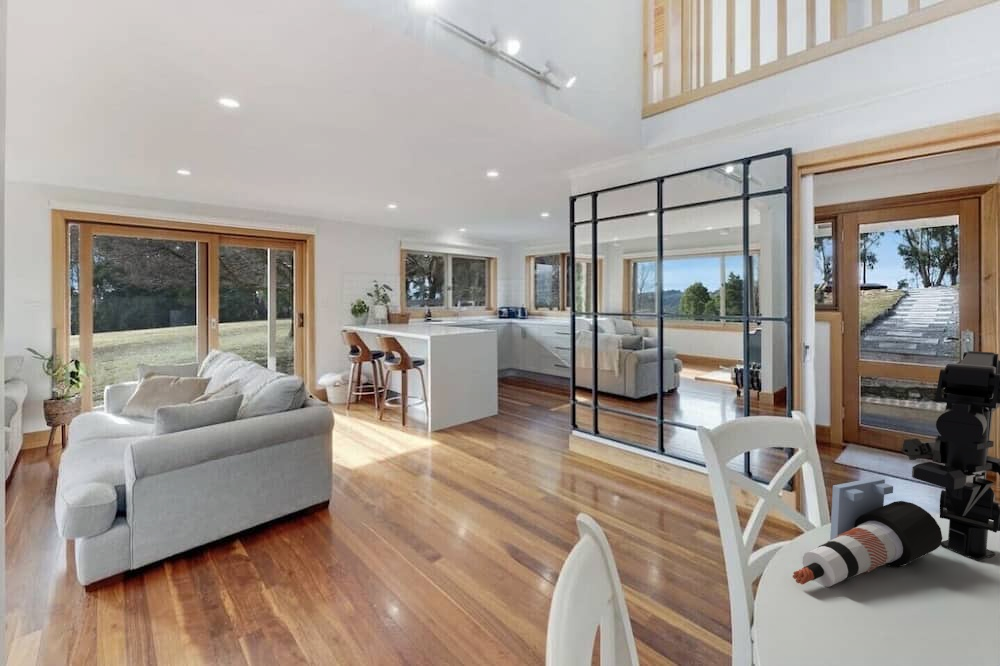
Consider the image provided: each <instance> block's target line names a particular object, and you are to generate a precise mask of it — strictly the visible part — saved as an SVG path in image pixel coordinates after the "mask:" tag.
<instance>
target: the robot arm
mask: <svg viewBox="0 0 1000 666" xmlns="http://www.w3.org/2000/svg"><path fill="white" fill-rule="evenodd" d="M999 355H1000V354H999V353H995V352H992V351H991V352H989V351H974V350H969V351H964V352H963V355H962V359H961V360H960V361H958V362H957V363H947V364H946V365H945V368H944V369H943V368H941V369H940V370H939V374H938V375H939V376H938V381H937V387H936V392H935V398H934V399H935V400H934V401H935V402H936V403H937V402H938V403H945V404H946V405H945V409H944V411H943V412H942V413H941V414H940V415H939V416H938V418H937V419H936V421H935V422H936V423H935V427H936V428H935V429H936V430H937V432H938V435H936V436H935V440H923V441H921V440H920V439H919V438H918V437H917V438H906V439H903V442H902V444H901V445H902V446H901V447H902V448H901V449H900V451H901V453H904V455H906V456H908V460H909V461H916V460H924V459H925V460H926V459H932V461H927V462H921V463H918V464H916V465H913V466H912V469H911V470H912V471H911V477H912V478H913V479H915V480H919V481H923V482H926V483H928V484H931V485H934V486H938V487H941V488H944V489H945V490H944V489H942V490H941V491H940V495H939V518H940V519H945V520H949V521H948V537H947V539H946V540H943V541H941V544H940V547H941V546H942V547H944V548H946V549H949V550H951V551H952V552H956V553H958V554H960V555H963V556H966V557H968V558H971V559H973V560H976V561H980V560H983V559H986V558H989V557H993V556H996V552H995V551H993V550H990V549H988V534H989V531H991V532H992V533H997V532H1000V503H999V502H997V501H996V500H995V499H996V494H995V492H994V490H993V489H992V487H991V486H993V485H994V484H995V481H992V480H989V479H987V472H991V473H997V474H998V475H999V476H1000V458H998V457H993V456H990V455H989V453H990V452H989V450H990V448H994V444H995V442H994V441H993V440H990V439H991V431H992V421H993V413H994V412H995V411H997V409H998V408H1000V357H999Z"/></svg>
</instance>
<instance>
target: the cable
mask: <svg viewBox="0 0 1000 666" xmlns="http://www.w3.org/2000/svg"><path fill="white" fill-rule="evenodd" d="M942 533H943V532H942V530H941V527H940V525H939V524H938V522H937V520H936V519H935V518H934V517H933V516H932V515H931V514H930V512H929V511H927V510H926V509H924V508H922V507H921V506H919V505H917V504H915V503H914V502H909V501H904V500H898V501H893V502H890V503H888V504H884V506H883V507H880V508H878V509H875V510H873V511H871V512H868V513H866V514H863V515H861V516H860V517H859V518H858V519H857V520H856V521H855V525H854V528H852V529H851V530H849V531H847V532H845V533H842V534H840V535H837V537H835V539H832V540H827V542H825V543H822V544H821V545H819V546H817V547H816V548H813V549H812V550H810V551H807V552H805V553H804V554H803V556H802V565H803V567H802V568H801V569H798V570H796V571H794V572H793V575H792V578H793V579H794V580H795V582H796V584H800V585H805V584H807V583H809V582H810V581H814V582H815V583H817V584H818V585H821V586H823V587H825V588H827V587H831V586H834V585H836V584H839V583H840V582H843V581H846V580H848V579H850V578H854V577H856V576H858V575H861V574H865V573H869V572H870V571H873V570H875V569H876V568H879V566H883V565H886V566H888V567H891V568H892V567H894V568H900V567H903V566H905V565H909V564H910V563H911V562H914V561H916V560H918V559H919V558H921V557H924V556H926V555H927V554H930V553H932V552H934V551H936V550H937V549H938V548H939V547H941V545H940V544H941V542H942V540H943V534H942Z"/></svg>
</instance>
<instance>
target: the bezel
mask: <svg viewBox="0 0 1000 666" xmlns="http://www.w3.org/2000/svg"><path fill="white" fill-rule="evenodd" d="M889 494H890V495H891V494H894V486H893V485H890V484H888V483H886V480H885V478H882V477H879V476H876V477H871V478H865V479H860V480H855V481H851V482H846V483H845V482H843V483H839V484H834V485H832V496H831V497H832V498H831V499H832V500H831V514H830V515H831V517H830V540H832V539H835V537H837V535H840V534H842V533H845V532H847V531H849V530H851V529H852V528H854V525H855V521H856V520H857V519H858V518H859V517H860V516H861V515H863V514H866V513H868V512H871V511H873V510H875V509H878V508H880V507H883V506H885V504H884V502H885V501H884V500H885V496H886V495H889ZM830 540H829V541H830Z"/></svg>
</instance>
